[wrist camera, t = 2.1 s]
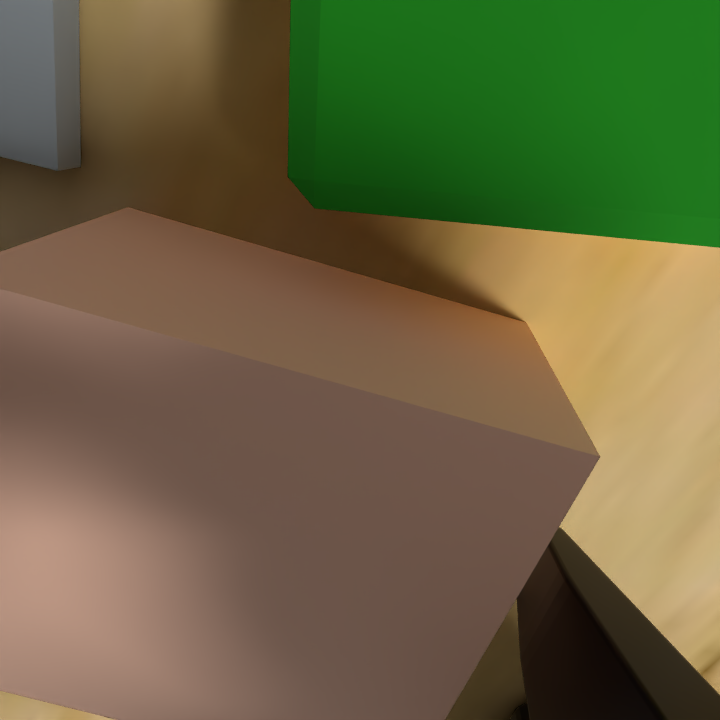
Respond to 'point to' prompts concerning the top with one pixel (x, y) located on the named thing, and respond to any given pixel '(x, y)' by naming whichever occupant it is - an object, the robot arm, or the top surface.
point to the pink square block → (260, 479)
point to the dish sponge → (511, 113)
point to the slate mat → (40, 82)
